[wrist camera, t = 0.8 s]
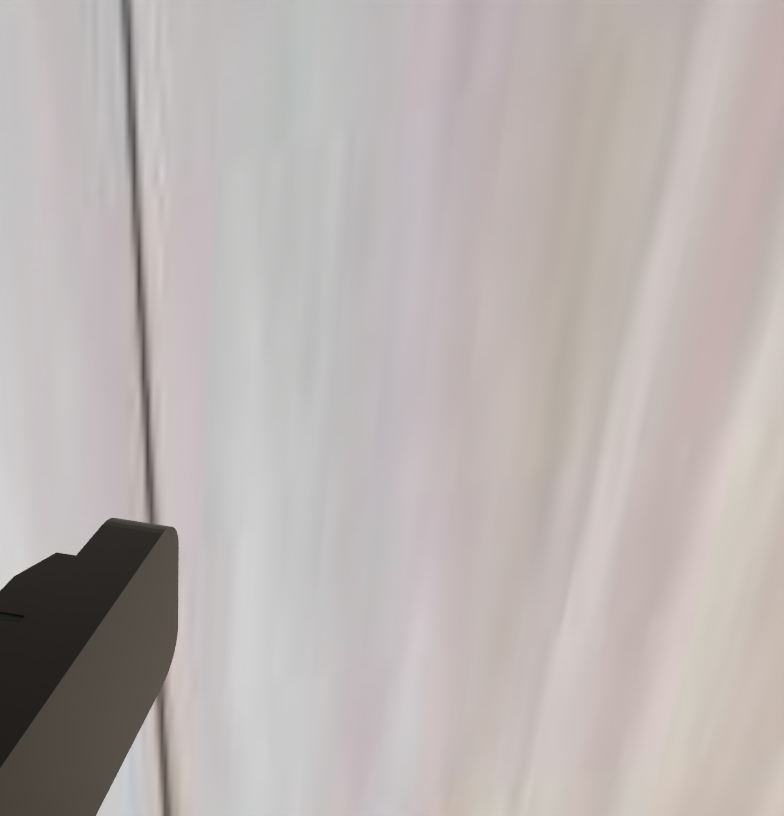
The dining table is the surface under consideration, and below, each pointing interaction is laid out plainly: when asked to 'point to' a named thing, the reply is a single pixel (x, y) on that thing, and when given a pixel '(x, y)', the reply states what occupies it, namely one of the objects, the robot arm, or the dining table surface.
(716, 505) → the dining table surface
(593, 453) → the dining table surface
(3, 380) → the dining table surface
